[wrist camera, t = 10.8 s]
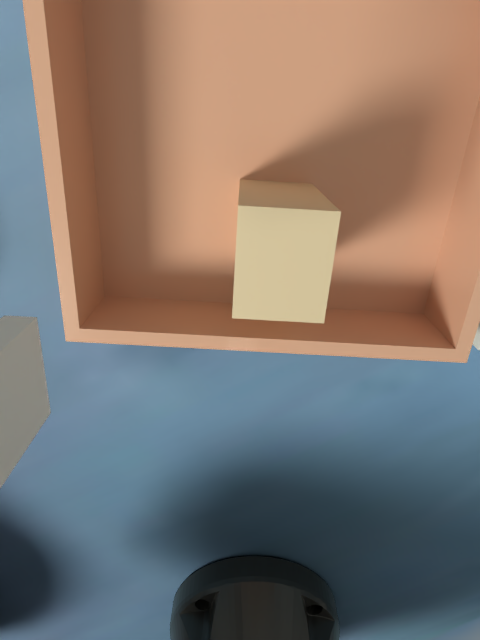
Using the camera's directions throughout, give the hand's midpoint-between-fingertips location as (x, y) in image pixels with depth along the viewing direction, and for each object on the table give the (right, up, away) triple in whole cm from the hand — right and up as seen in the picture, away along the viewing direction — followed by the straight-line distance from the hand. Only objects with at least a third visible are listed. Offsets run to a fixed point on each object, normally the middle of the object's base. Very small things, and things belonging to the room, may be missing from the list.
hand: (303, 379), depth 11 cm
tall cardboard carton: (0, +7, +14) cm, 16 cm away
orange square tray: (0, +12, +12) cm, 17 cm away
